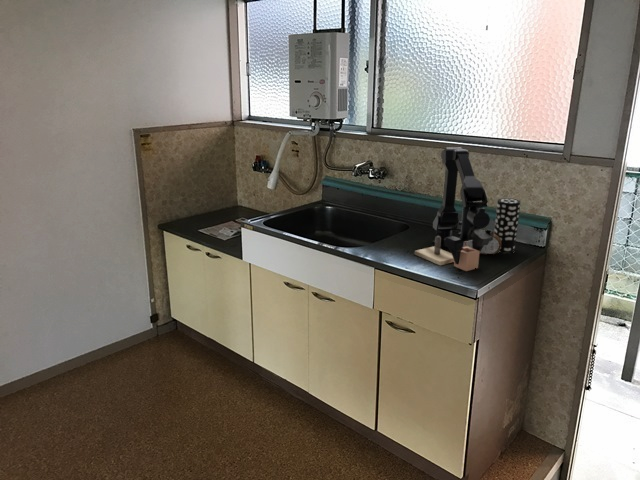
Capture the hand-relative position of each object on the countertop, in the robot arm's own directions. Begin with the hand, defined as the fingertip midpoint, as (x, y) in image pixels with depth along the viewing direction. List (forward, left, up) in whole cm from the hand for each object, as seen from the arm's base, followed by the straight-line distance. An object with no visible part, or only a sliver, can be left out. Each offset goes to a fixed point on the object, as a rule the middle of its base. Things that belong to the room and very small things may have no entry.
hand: (466, 261), depth 189 cm
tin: (-16, -8, -2) cm, 18 cm away
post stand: (+2, -13, -2) cm, 13 cm away
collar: (0, 0, -2) cm, 2 cm away
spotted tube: (-27, -6, -2) cm, 27 cm away
